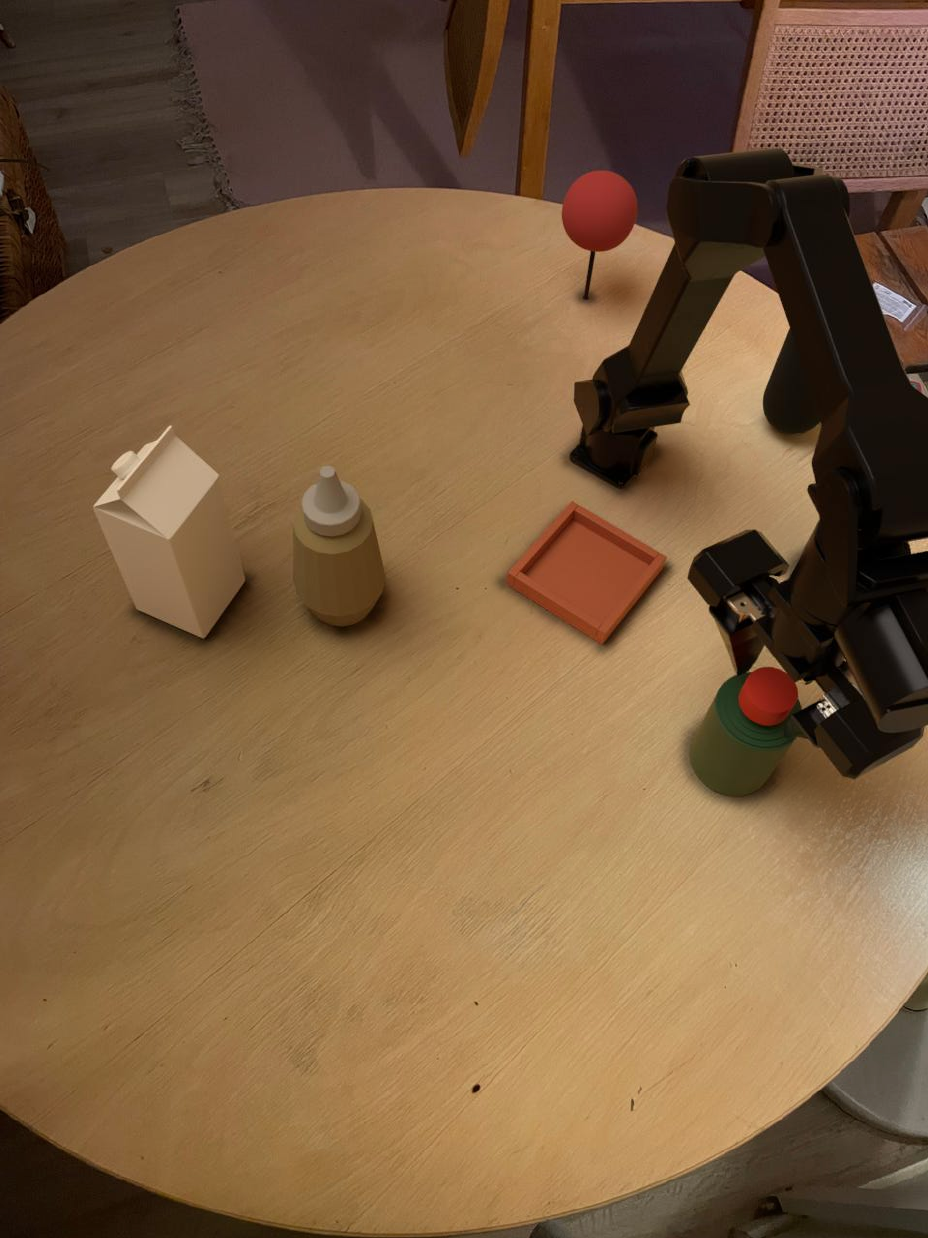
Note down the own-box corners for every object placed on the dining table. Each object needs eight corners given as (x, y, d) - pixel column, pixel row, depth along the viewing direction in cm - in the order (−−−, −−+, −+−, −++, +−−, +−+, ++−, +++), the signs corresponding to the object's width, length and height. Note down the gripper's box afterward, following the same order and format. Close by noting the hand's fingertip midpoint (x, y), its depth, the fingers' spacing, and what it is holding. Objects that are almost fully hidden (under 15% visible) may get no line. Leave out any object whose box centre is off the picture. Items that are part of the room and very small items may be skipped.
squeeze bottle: (399, 578, 96) (396, 448, 80) (367, 649, 92) (356, 526, 76) (319, 553, 97) (300, 420, 82) (283, 622, 93) (256, 495, 78)
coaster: (506, 583, 96) (507, 572, 94) (569, 512, 101) (572, 500, 99) (602, 644, 93) (605, 633, 91) (663, 568, 97) (667, 556, 96)
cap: (753, 670, 80) (760, 657, 78) (798, 697, 79) (807, 684, 77) (729, 707, 78) (736, 694, 76) (775, 735, 77) (784, 722, 75)
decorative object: (817, 453, 106) (872, 341, 93) (753, 443, 106) (799, 331, 94) (817, 406, 109) (869, 293, 97) (754, 397, 110) (799, 282, 97)
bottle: (674, 765, 87) (707, 701, 77) (714, 708, 90) (750, 639, 80) (745, 812, 85) (788, 752, 75) (784, 752, 88) (830, 687, 78)
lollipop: (630, 290, 118) (655, 172, 105) (599, 329, 114) (622, 212, 102) (571, 265, 120) (588, 146, 107) (539, 303, 116) (553, 184, 103)
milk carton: (246, 580, 95) (211, 441, 79) (204, 640, 91) (158, 507, 75) (180, 552, 96) (132, 409, 80) (136, 610, 93) (76, 473, 77)
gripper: (1035, 651, 63) (929, 757, 77) (839, 444, 72) (774, 572, 85) (898, 727, 60) (811, 824, 74) (709, 502, 69) (662, 625, 82)
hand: (765, 702), depth 79 cm, fingers open, 6 cm apart
